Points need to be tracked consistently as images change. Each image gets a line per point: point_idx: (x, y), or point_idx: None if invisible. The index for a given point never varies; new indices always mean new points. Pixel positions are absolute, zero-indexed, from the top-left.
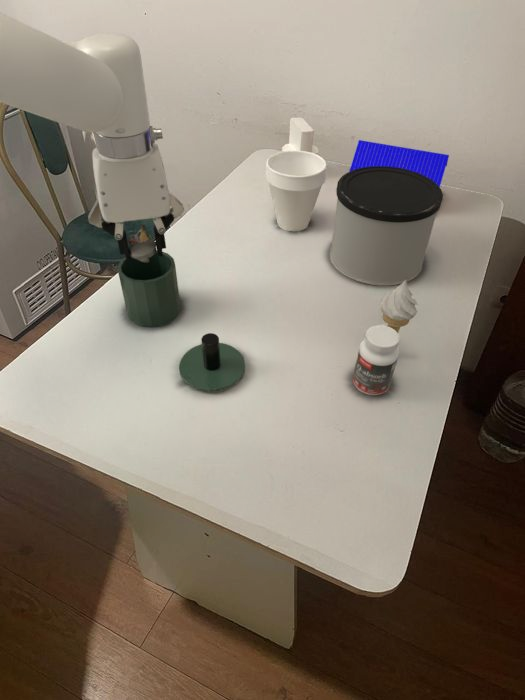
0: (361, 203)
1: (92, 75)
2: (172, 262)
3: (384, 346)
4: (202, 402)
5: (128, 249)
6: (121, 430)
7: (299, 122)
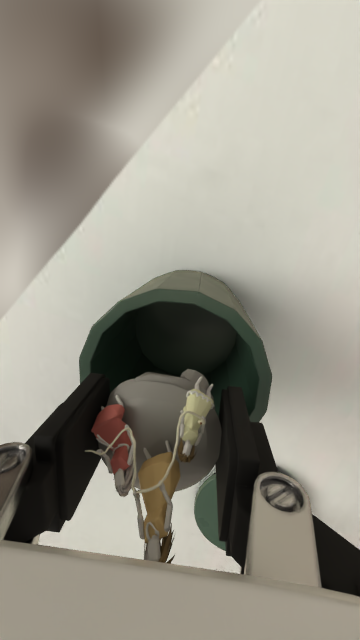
0: None
1: None
2: (261, 399)
3: None
4: (213, 547)
5: (89, 478)
6: (99, 546)
7: None
